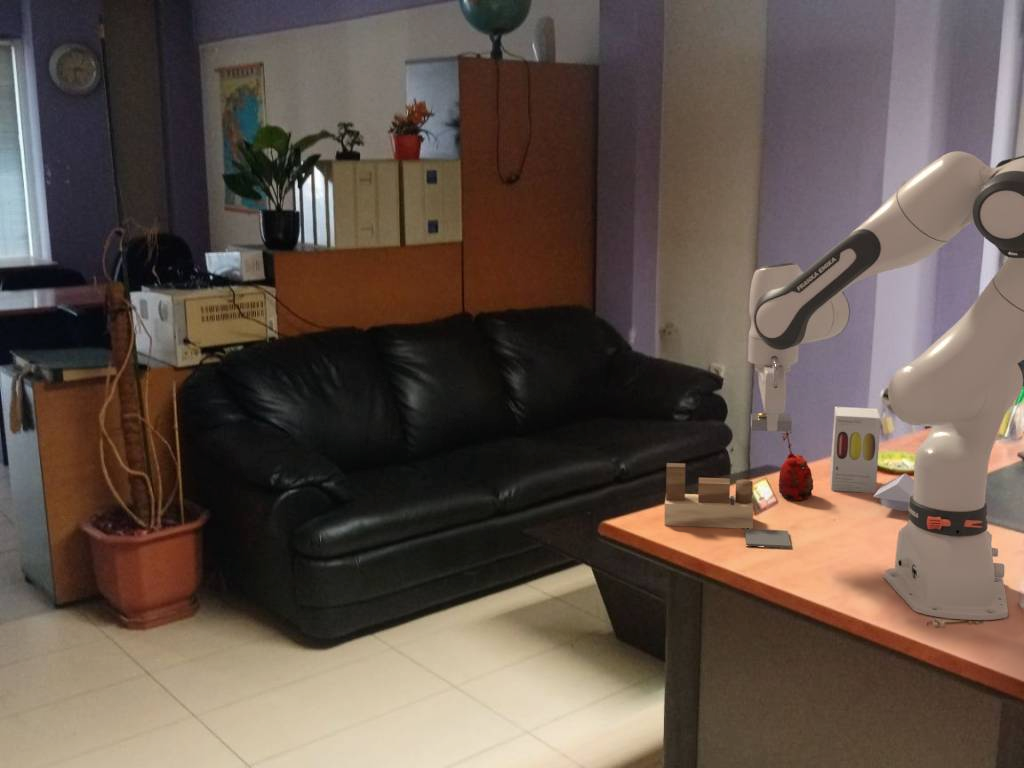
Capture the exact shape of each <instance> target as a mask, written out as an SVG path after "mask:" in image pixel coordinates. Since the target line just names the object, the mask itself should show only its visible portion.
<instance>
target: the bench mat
mask: <svg viewBox="0 0 1024 768" xmlns="http://www.w3.org/2000/svg"><path fill="white" fill-rule="evenodd" d="M744 535H745V536H744V537H746V538H745V546H746V545H748V546H764V547H782V548H781V549H785V548H791V547H792V544H791V540H790V536H789V530H782V529H781V530H779V529H776V530H775V529H761V528H760V529H757V528H753V529H744ZM764 547H763V548H764ZM783 547H784V548H783Z"/></svg>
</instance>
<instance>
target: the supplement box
mask: <svg viewBox="0 0 1024 768" xmlns="http://www.w3.org/2000/svg"><path fill="white" fill-rule="evenodd" d="M833 411H834V412H833V413H834V415H833V426H832V427H833V430H832V441H831V456H830V457H831V458H830V471H829V472H830V473H829V474H830V478H829V480H830V482H829V483H830V490H831V491H834V492H835V491H837V492H849V493H850V492H851V493H863V494H865V493H866V494H876V492H877V481H878V480H877V479H878V478H877V477H878V465H879V463H878V462H879V450H880V434H881V431H880V430H881V415H880V413H879V409H878V408H876V407H875V408H867V407H865V408H864V407H847V406H846V407H845V406H834V410H833Z"/></svg>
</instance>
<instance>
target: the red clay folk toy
mask: <svg viewBox="0 0 1024 768" xmlns="http://www.w3.org/2000/svg"><path fill="white" fill-rule="evenodd" d="M793 432H794V431H793V430H791V432H790V431H785V433H782V436H781V438H782V441H784V442H785V441H786V440H787V442H788V443H787V444H788V445H787V447H788V449H789V454H788V455H787V458H786V459H785V461H784V462H783V463H782V465H781V468H780V472H779V478H778V492H779V493H780V494H781V496H782V497H783V498H785V499H786V500H792V501H794V502H797V501H798V502H800V501H804V500H808V499H809V498H810V497H812V495H813V493H812V491H813V489H814V479H813V478H812V477H813V474H812V470H811V468H810V467H809V465H808V461H807V459H806V458H804V457H803V455H801V454H796V455H795V454H794V453H793V452H792V449H791V447H792V446H793V444H792V443H790V437H789V435H790V434H791V433H793Z"/></svg>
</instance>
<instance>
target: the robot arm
mask: <svg viewBox="0 0 1024 768" xmlns="http://www.w3.org/2000/svg"><path fill="white" fill-rule="evenodd" d="M972 223H974V225H975V227H976V228H977V230H978V232H979V233H980V234H981V235H982V236H983V238H985V239H986V240H987V241H988V242H989V243H990V244H992V245H994V246H995V247H996V248H997V250H998V251H999V252H1000V253H1001V254H1002V255H1003V256H1005V257H1007V258H1006V260H1005V261H1004V263H1003V264H1002V266H1001V267H1000V268H999V269H998V271H997V272H996V274H994V276H993V277H992V279H991V280H990V281H989V282H988V283H987V285H986V287H985V288H984V289H983V291H982V292H981V293H980V295H979V296H978V297H977V299H976V300H975V301H974V302H973V304H972V305H971V306H970V307H969V309H968V310H967V311H966V312H965V314H964V315H963V316H962V317H961V318H960V319H959V320H958V321H957V322H956V323H954V324H953V325H952V326H951V327H950V328H949V329H948V330H946V332H944V333H943V334H942V335H941V336H940V337H939V338H938V339H936V340H935V342H933V343H932V344H931V345H930V346H929V347H928V348H927V349H925V351H924V352H923V353H921V354H920V355H919V356H918V357H917V358H915V359H914V360H912V361H911V362H909V363H908V364H906V365H905V366H903V367H901V368H900V369H899V370H897V371H896V372H895V373H894V374H893V376H891V379H890V381H889V384H888V390H887V396H888V401H889V405H890V407H891V409H892V411H893V413H894V415H896V417H898V419H900V420H901V421H902V422H904V423H906V424H908V425H912V426H919V427H920V426H921V427H932V428H931V430H930V432H929V434H927V435H928V436H927V437H925V438H926V439H925V440H924V441H923V442H922V443H921V445H920V446H919V447H918V449H917V450H916V453H915V458H914V469H913V470H914V471H913V480H914V485H913V495H912V496H911V497H910V503H909V508H908V510H909V511H908V519H909V520H908V522H907V523H906V524H905V525H904V526H903V527H902V528H900V530H898V533H897V541H896V550H895V561H894V567H893V568H889V569H887V570H885V571H884V574H883V578H884V580H885V581H886V582H887V583H888V584H889V585H890V586H891V587H892V588H893V590H895V591H896V592H897V593H898V594H899V597H901V598H902V599H903V600H904V601H905V603H907V605H908V606H910V608H911V610H913V611H914V612H916V613H919V614H921V615H927V616H932V617H937V618H942V619H943V618H944V619H953V620H969V621H971V620H972V621H989V620H990V621H992V620H993V621H994V620H999V619H1005V618H1007V617H1008V616H1009V609H1008V601H1007V597H1006V596H1007V595H1006V590H1005V584H1004V577H1005V564H1004V563H1000V562H994V558H995V557H997V558H998V556H999V548H996V547H992V542H993V541H992V539H993V534H992V533H991V532H990V531H989V530H988V520H989V512H988V505H987V503H986V491H987V481H988V471H989V464H990V459H991V454H992V452H993V448H994V445H995V441H996V440H997V436H998V434H999V431H1000V429H1001V426H1002V424H1003V421H1004V418H1005V416H1006V414H1007V413H1008V411H1009V409H1010V408H1011V406H1012V405H1013V404H1014V403H1015V401H1016V400H1017V399H1018V398H1019V397H1020V395H1021V393H1022V390H1023V386H1024V377H1023V371H1022V370H1021V367H1020V366H1019V363H1021V362H1022V361H1024V155H1021V156H1017V157H1013V158H1007V159H1003V160H1001V161H999V162H998V163H997V165H996V166H995V167H991V166H988V165H987V164H985V163H984V162H983V161H982V159H980V158H978V157H977V156H975V155H973V154H972V153H969V152H965V151H960V150H959V151H957V150H956V151H951V152H948V153H945V154H943V155H942V156H940V157H939V158H937V159H936V160H934V161H932V162H931V163H929V164H928V165H926V166H925V167H924V168H923V169H921V170H920V171H918V172H917V173H916V174H915V175H914V176H912V177H911V178H910V179H909V180H907V181H906V182H905V183H904V184H903V185H902V186H901V187H900V188H899V189H897V191H896V192H894V193H893V194H892V195H891V196H890V197H889V198H888V199H887V200H886V201H885V202H884V203H882V205H881V206H879V207H878V208H877V209H876V210H875V212H873V213H872V214H871V215H870V216H869V217H868V218H867V219H865V221H863V222H862V223H861V224H860V225H859V226H858V227H856V228H855V229H854V230H853V231H852V232H850V234H848V236H846V237H844V238H843V239H842V241H840V242H838V243H837V244H836V245H835V246H833V247H832V248H831V249H829V250H828V251H827V252H826V253H824V254H823V255H822V256H821V257H820V258H819V259H818V260H816V261H815V262H814V263H813V264H812V265H811V266H809V267H807V269H806V270H804V271H802V269H801V268H800V266H799V265H798V264H796V263H794V262H785V263H783V262H782V263H775V264H769V265H768V264H767V265H762V266H761V267H758V268H757V269H755V271H754V273H753V277H752V279H751V284H750V291H749V307H748V308H749V309H748V310H749V317H750V321H751V322H750V324H751V325H750V329H749V331H748V347H747V348H748V349H747V350H748V351H747V352H748V355H747V356H748V357H747V360H748V362H749V363H751V364H753V365H754V370H755V372H757V379H758V386H759V392H760V397H761V401H762V406H763V411H764V412H763V413H767V430H768V431H767V432H778V431H777V422H778V417H779V414H785V411H786V407H787V406H786V403H787V401H786V400H787V398H786V397H787V375H786V373H789V372H791V368H792V367H791V366H792V365H795V364H797V363H798V362H799V345H804V344H809V343H814V342H818V341H821V340H827V339H830V338H834V336H838V335H840V334H841V333H842V332H844V330H845V329H846V328H847V326H848V323H849V320H850V315H851V309H850V304H849V301H848V298H847V297H846V295H845V294H844V291H845V290H846V289H848V288H849V287H850V286H852V285H853V284H855V283H857V282H859V281H861V280H864V279H866V278H869V277H871V276H874V275H877V274H880V273H883V272H884V273H885V272H889V271H891V270H892V271H893V270H896V269H901V268H904V267H905V268H906V267H909V266H911V265H914V264H916V263H918V262H921V261H922V260H924V259H926V258H927V257H929V256H931V255H932V254H933V253H935V252H937V251H938V250H940V249H941V248H942V247H944V246H945V245H946V244H947V243H948V242H950V240H951V239H953V238H954V237H955V236H957V234H958V233H959V232H961V231H962V230H963V229H964V228H965V227H967V226H968V225H970V224H972ZM993 557H994V558H993Z"/></svg>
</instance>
